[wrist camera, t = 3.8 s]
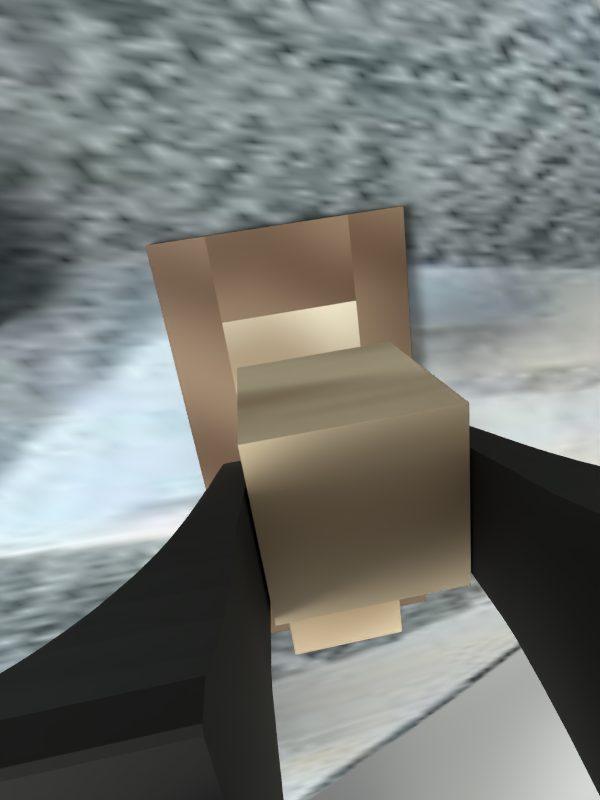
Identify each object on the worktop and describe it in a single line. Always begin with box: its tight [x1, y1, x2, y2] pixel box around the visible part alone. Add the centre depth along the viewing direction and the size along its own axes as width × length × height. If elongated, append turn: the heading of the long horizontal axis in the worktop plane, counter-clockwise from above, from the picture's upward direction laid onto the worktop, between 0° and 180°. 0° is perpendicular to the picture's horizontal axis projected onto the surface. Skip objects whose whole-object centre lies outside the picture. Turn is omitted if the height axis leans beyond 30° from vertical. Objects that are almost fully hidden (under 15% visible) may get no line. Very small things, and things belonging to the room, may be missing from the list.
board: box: [146, 206, 426, 633], centre depth 20 cm, size 18×9×1 cm, turn 8°
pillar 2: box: [289, 600, 402, 654], centre depth 19 cm, size 4×4×4 cm
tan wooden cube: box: [237, 342, 471, 626], centre depth 11 cm, size 4×4×4 cm
